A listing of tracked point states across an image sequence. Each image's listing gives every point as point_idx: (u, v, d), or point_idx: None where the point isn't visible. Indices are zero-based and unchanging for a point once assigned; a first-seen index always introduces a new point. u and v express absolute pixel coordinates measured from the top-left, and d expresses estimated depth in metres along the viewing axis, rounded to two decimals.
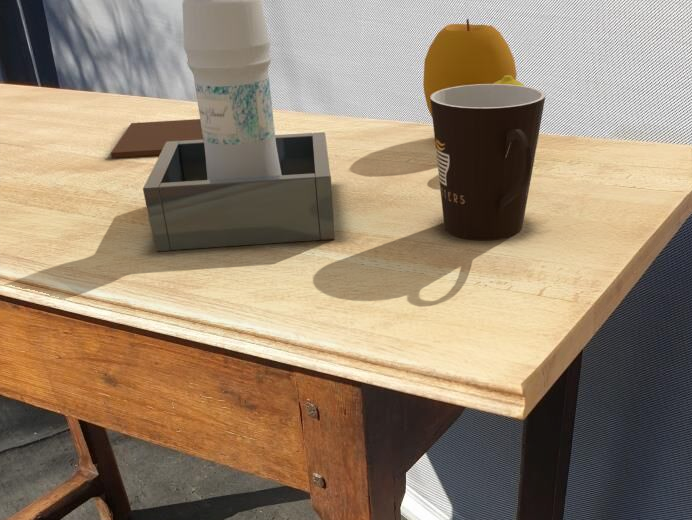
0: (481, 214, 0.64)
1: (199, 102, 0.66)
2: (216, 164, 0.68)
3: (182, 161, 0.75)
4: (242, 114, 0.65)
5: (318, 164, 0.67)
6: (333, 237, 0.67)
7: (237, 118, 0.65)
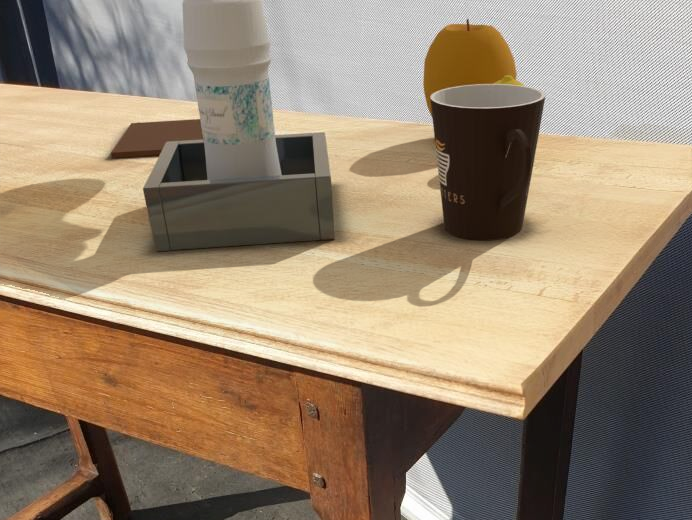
0: (481, 214, 0.64)
1: (199, 102, 0.66)
2: (216, 164, 0.68)
3: (182, 161, 0.75)
4: (242, 114, 0.65)
5: (318, 164, 0.67)
6: (333, 237, 0.67)
7: (237, 118, 0.65)
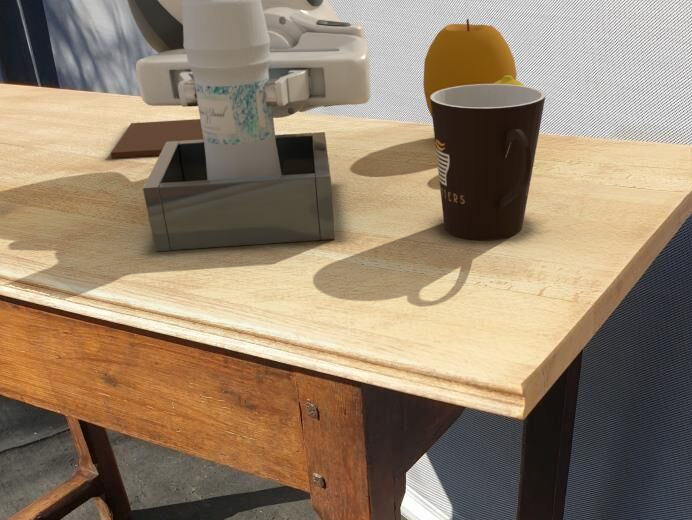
0: (481, 214, 0.64)
1: (199, 102, 0.66)
2: (216, 164, 0.68)
3: (182, 161, 0.75)
4: (242, 114, 0.65)
5: (318, 164, 0.67)
6: (333, 237, 0.67)
7: (237, 118, 0.65)
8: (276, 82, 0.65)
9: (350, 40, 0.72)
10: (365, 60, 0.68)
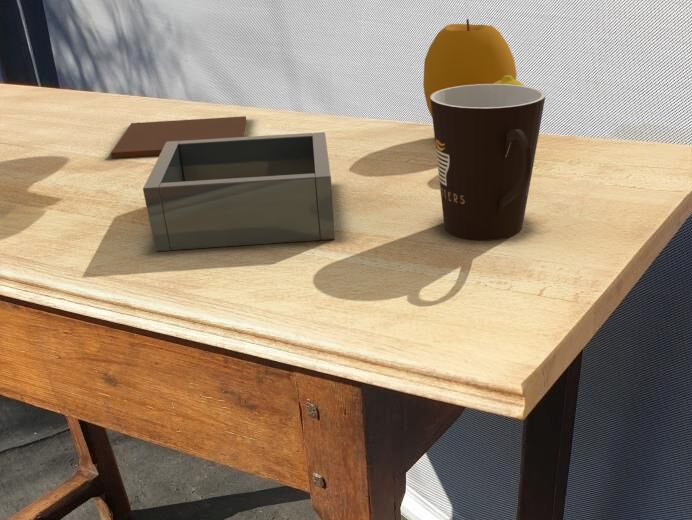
0: (481, 214, 0.64)
1: None
2: None
3: (182, 161, 0.75)
4: None
5: (318, 164, 0.67)
6: (333, 237, 0.67)
7: None
8: None
9: None
10: None
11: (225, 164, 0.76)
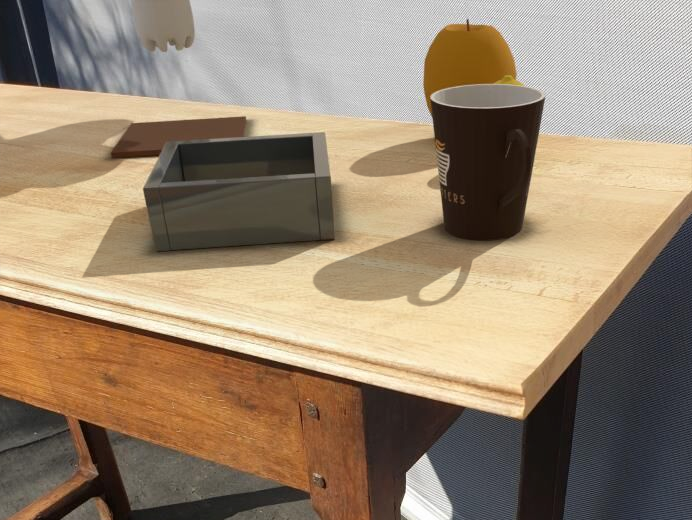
0: (481, 214, 0.64)
1: None
2: None
3: (182, 161, 0.75)
4: None
5: (318, 164, 0.67)
6: (333, 237, 0.67)
7: None
8: None
9: None
10: None
11: (225, 164, 0.76)
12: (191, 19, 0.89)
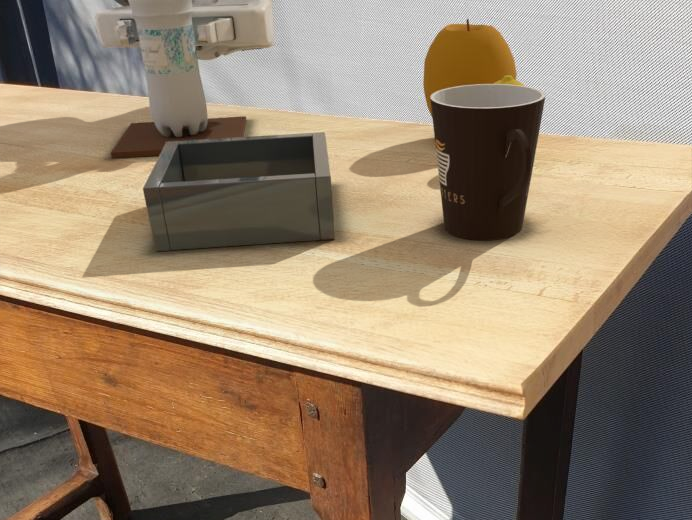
0: (481, 214, 0.64)
1: (140, 42, 0.90)
2: (154, 89, 0.91)
3: (182, 161, 0.75)
4: (172, 51, 0.89)
5: (318, 164, 0.67)
6: (333, 237, 0.67)
7: (168, 54, 0.89)
8: (206, 25, 0.89)
9: None
10: (264, 11, 0.92)
11: (225, 164, 0.76)
12: (204, 107, 0.94)
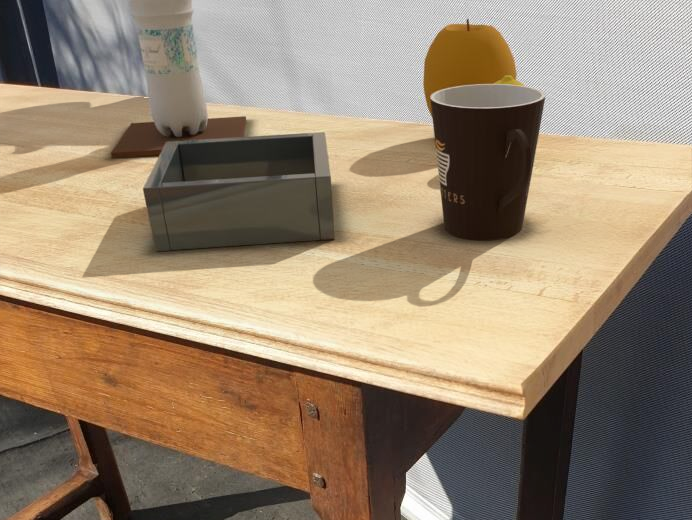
0: (481, 214, 0.64)
1: (140, 42, 0.90)
2: (154, 89, 0.91)
3: (182, 161, 0.75)
4: (171, 51, 0.89)
5: (318, 164, 0.67)
6: (333, 237, 0.67)
7: (168, 54, 0.89)
8: None
9: None
10: None
11: (225, 164, 0.76)
12: (204, 106, 0.94)
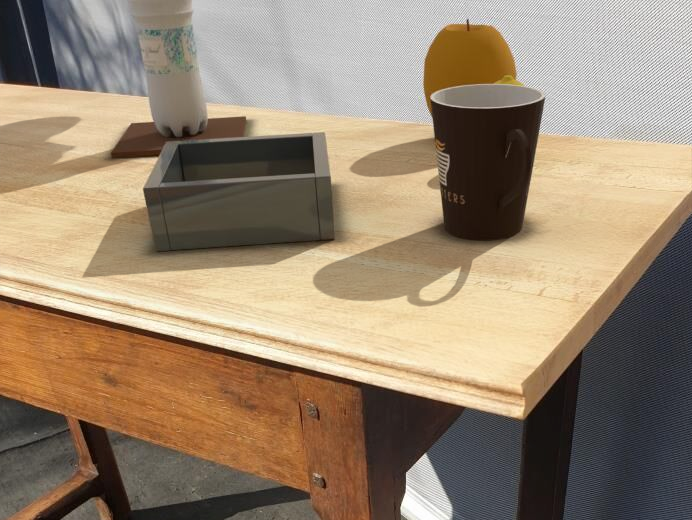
0: (481, 214, 0.64)
1: (140, 42, 0.90)
2: (154, 89, 0.91)
3: (182, 161, 0.75)
4: (171, 51, 0.89)
5: (318, 164, 0.67)
6: (333, 237, 0.67)
7: (168, 54, 0.89)
8: None
9: None
10: None
11: (225, 164, 0.76)
12: (204, 106, 0.94)
